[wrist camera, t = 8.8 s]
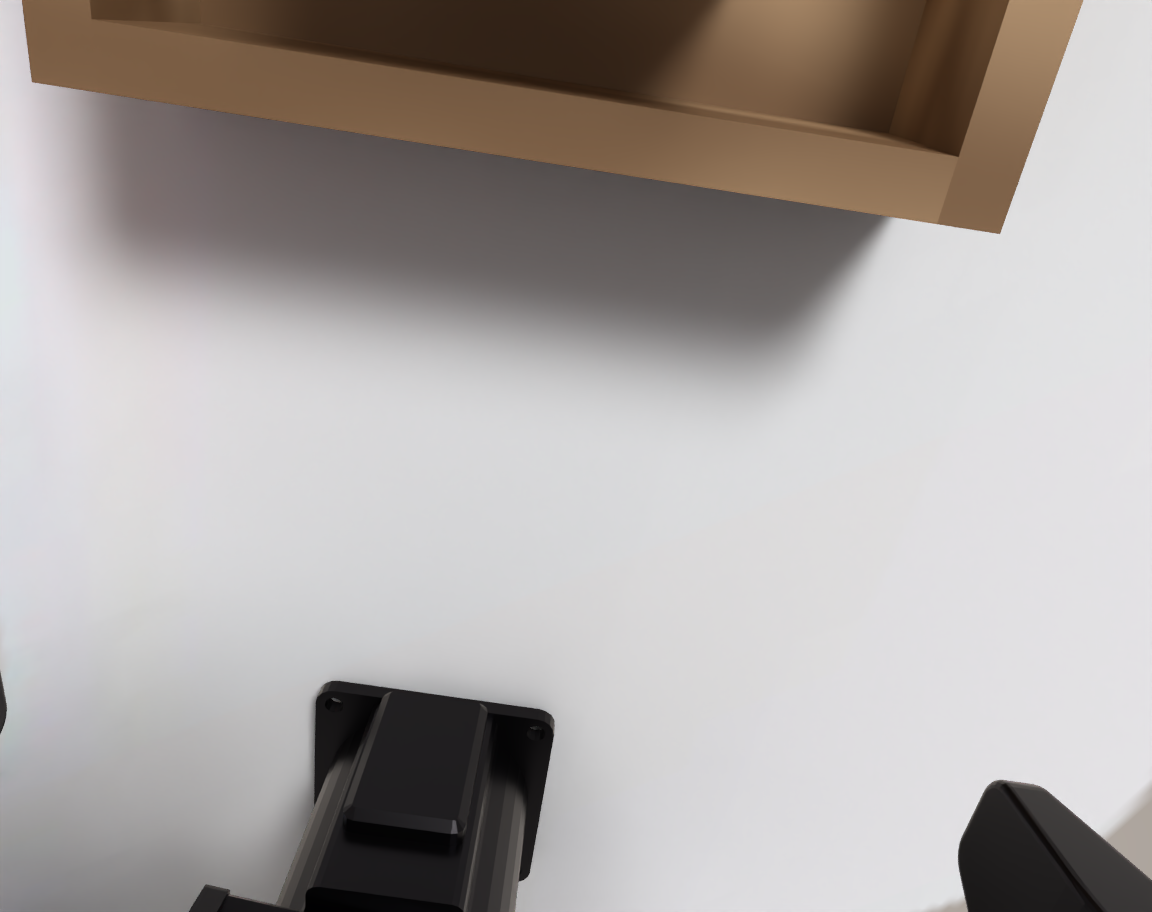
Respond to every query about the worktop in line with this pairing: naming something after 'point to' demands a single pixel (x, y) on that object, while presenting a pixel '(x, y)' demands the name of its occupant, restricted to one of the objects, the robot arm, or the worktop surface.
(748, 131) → the walnut crate
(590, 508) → the worktop surface
